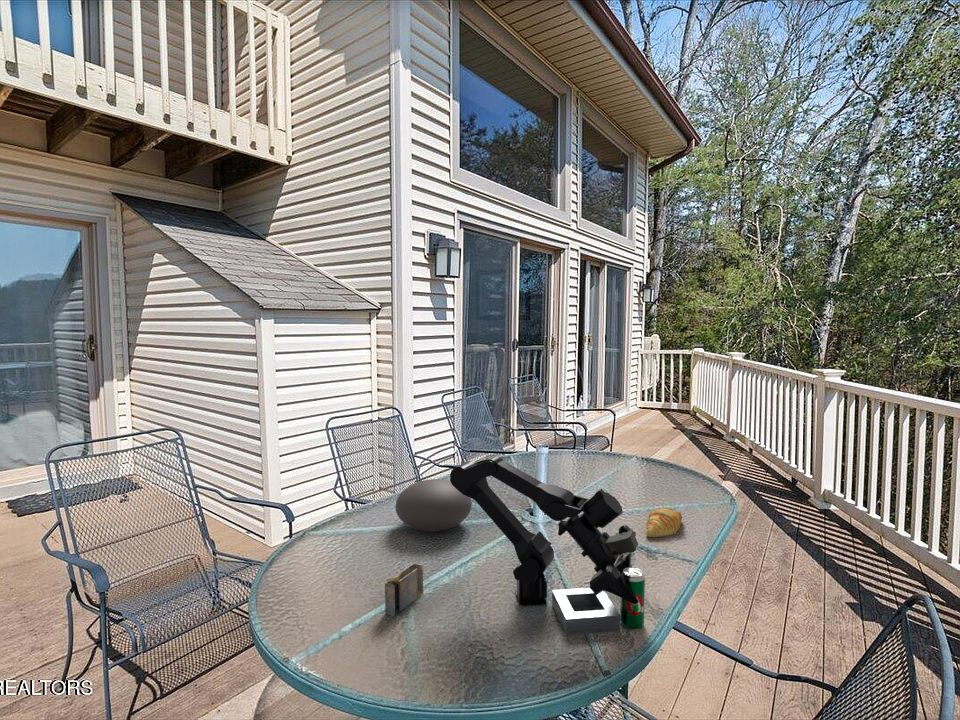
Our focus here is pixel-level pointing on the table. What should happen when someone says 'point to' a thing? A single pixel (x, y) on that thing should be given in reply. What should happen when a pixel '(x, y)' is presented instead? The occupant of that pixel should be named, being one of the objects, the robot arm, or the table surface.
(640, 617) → the soda can
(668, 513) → the croissant
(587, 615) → the sleeve block
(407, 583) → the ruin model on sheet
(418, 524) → the smooth stone
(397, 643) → the table surface
